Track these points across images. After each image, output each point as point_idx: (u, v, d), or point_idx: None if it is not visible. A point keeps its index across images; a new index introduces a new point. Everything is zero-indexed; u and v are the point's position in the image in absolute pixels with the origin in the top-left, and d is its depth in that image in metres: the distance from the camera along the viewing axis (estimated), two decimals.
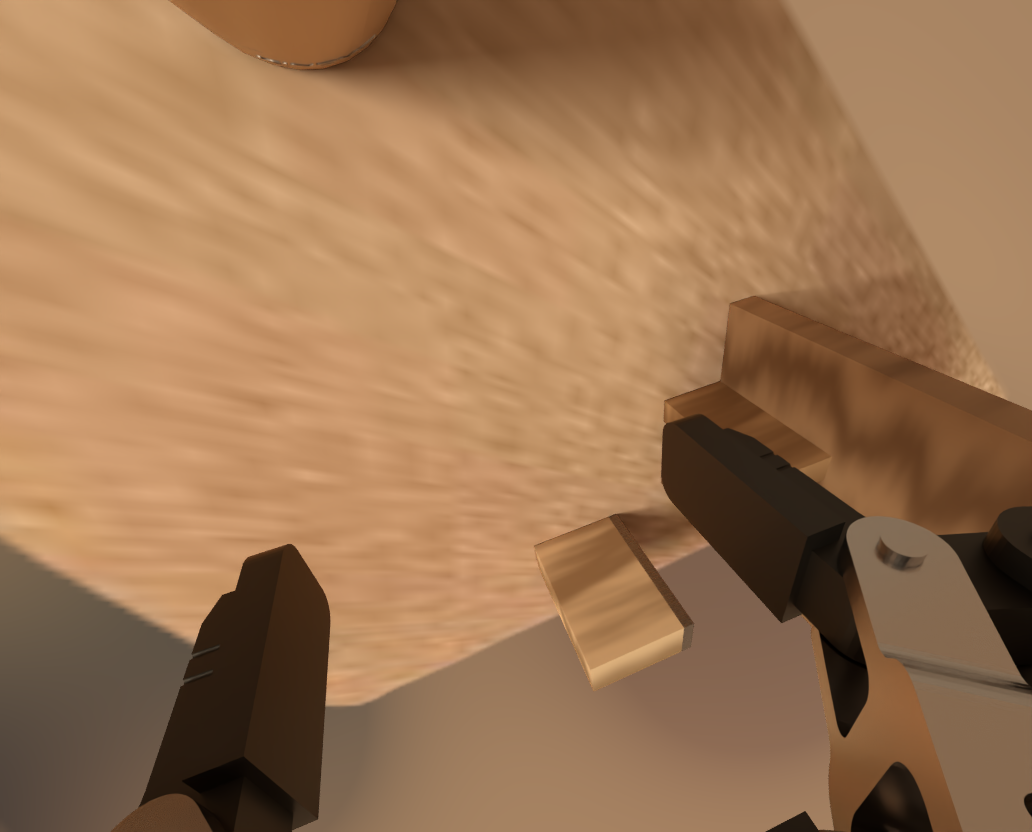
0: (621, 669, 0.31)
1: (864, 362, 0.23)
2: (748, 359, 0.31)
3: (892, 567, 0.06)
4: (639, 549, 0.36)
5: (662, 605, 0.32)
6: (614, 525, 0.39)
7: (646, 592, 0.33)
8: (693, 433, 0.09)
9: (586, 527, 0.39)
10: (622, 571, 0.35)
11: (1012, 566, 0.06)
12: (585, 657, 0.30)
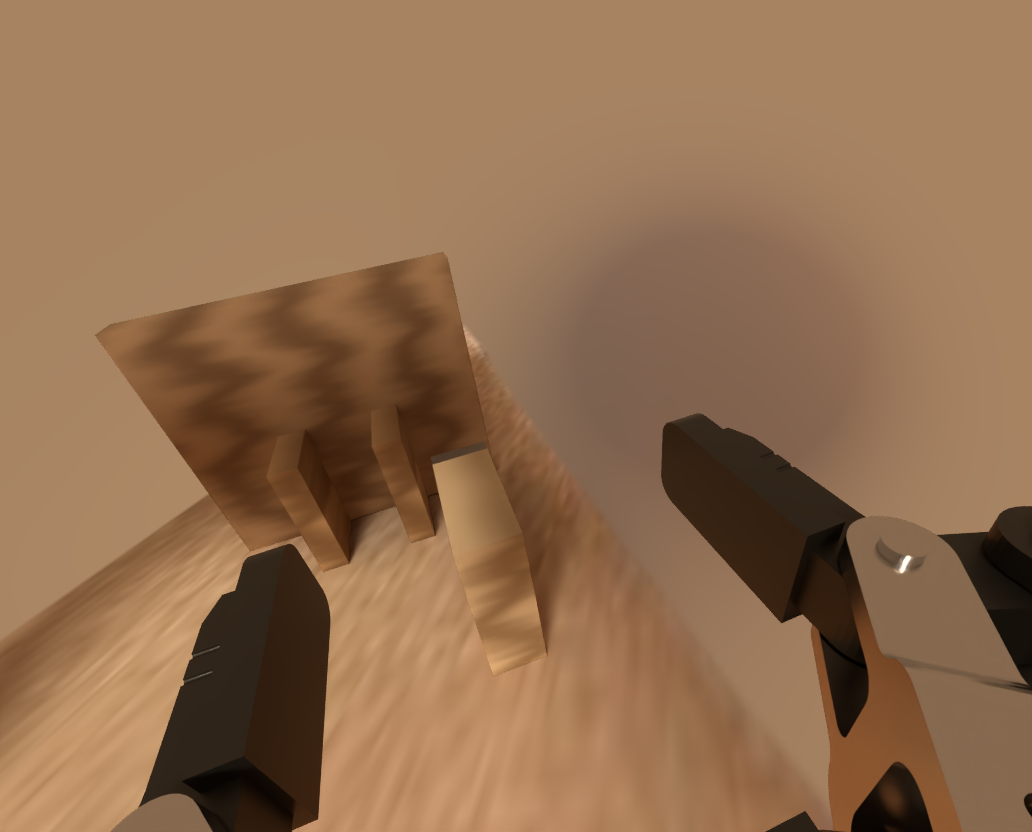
0: (481, 510, 0.22)
1: (187, 460, 0.33)
2: (278, 518, 0.37)
3: (892, 567, 0.06)
4: None
5: None
6: None
7: None
8: (693, 433, 0.09)
9: None
10: None
11: (1012, 566, 0.06)
12: (457, 567, 0.21)
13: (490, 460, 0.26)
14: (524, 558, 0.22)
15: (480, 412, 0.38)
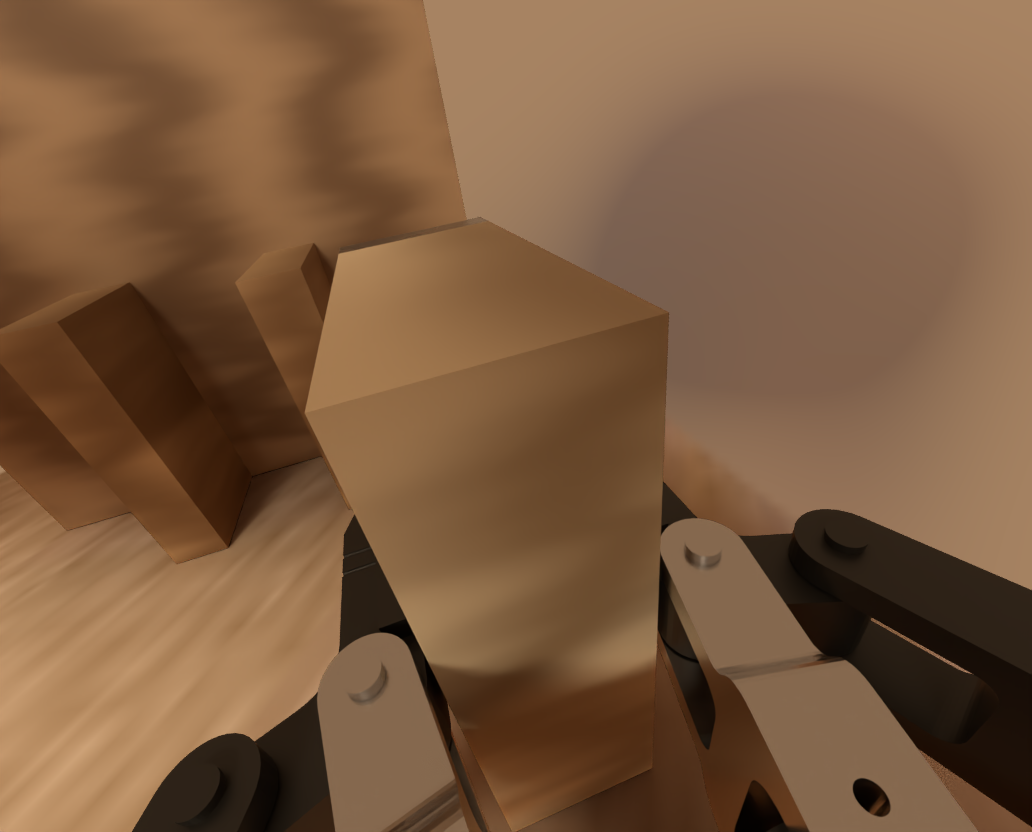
0: (469, 290, 0.06)
1: None
2: None
3: (687, 566, 0.06)
4: None
5: None
6: None
7: None
8: None
9: None
10: None
11: (818, 578, 0.06)
12: (348, 486, 0.04)
13: (497, 229, 0.09)
14: (651, 460, 0.05)
15: None
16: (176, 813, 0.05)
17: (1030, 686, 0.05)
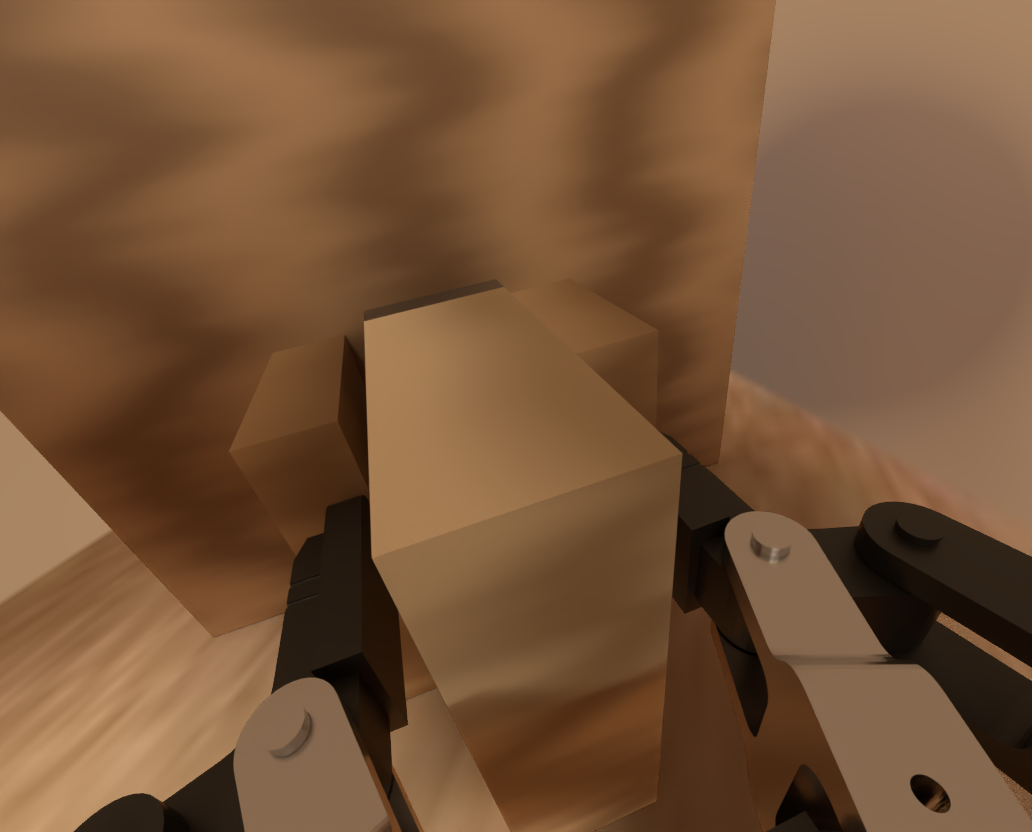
0: (497, 396, 0.06)
1: (16, 418, 0.11)
2: (276, 564, 0.16)
3: (758, 558, 0.06)
4: None
5: None
6: None
7: None
8: None
9: None
10: None
11: (883, 566, 0.06)
12: (401, 605, 0.05)
13: (514, 302, 0.10)
14: (663, 562, 0.06)
15: (734, 315, 0.17)
16: None
17: None
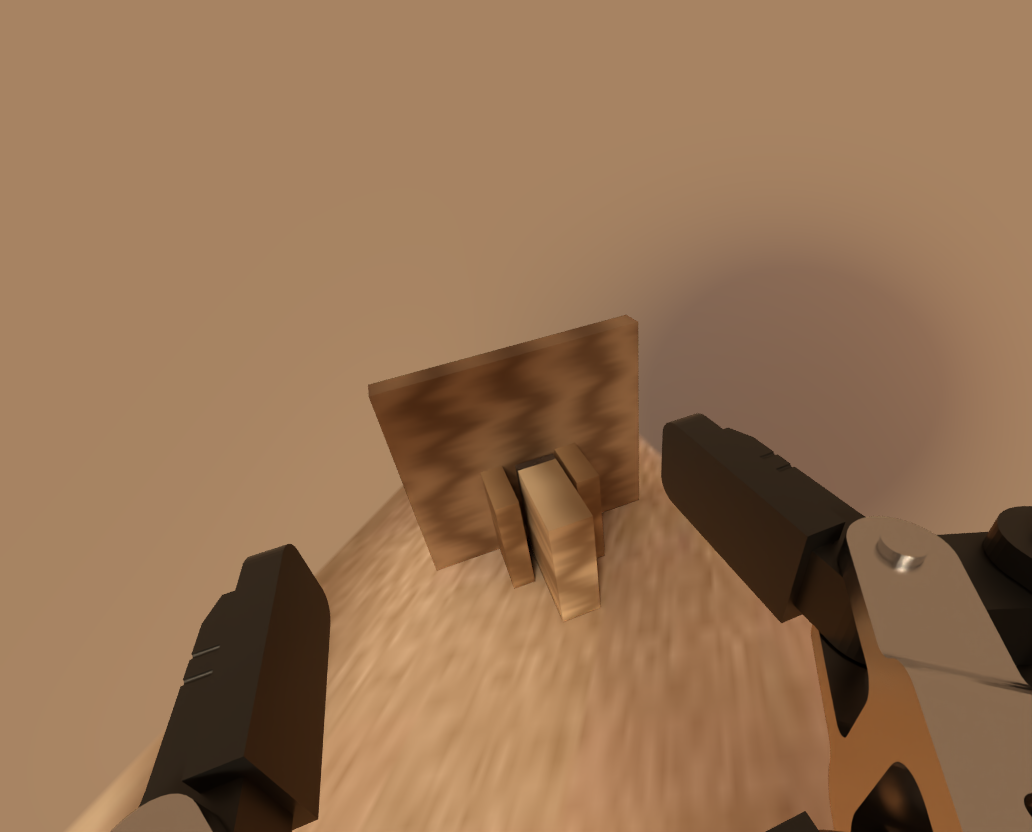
0: (561, 502, 0.33)
1: (407, 495, 0.38)
2: (464, 542, 0.42)
3: (892, 567, 0.06)
4: (527, 523, 0.41)
5: (522, 491, 0.38)
6: (533, 549, 0.42)
7: (526, 506, 0.38)
8: (693, 433, 0.09)
9: (542, 574, 0.41)
10: (533, 531, 0.38)
11: (1012, 566, 0.06)
12: (550, 539, 0.31)
13: (560, 467, 0.36)
14: (592, 533, 0.32)
15: (637, 446, 0.43)
16: None
17: None
